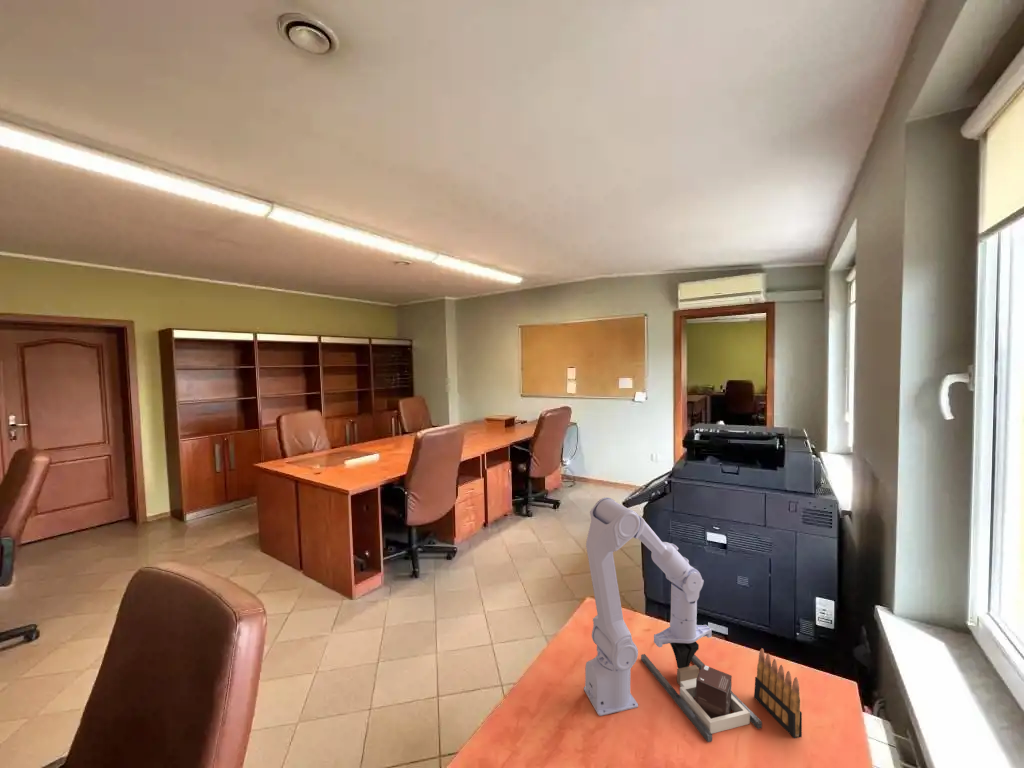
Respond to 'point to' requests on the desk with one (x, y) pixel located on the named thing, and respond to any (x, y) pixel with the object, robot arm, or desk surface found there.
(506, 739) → the desk surface
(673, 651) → the robot arm
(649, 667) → the track
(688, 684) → the frame
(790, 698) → the ammunition clip
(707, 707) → the box
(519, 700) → the desk surface
